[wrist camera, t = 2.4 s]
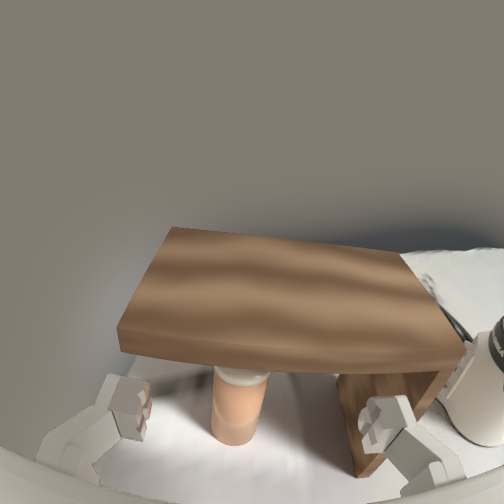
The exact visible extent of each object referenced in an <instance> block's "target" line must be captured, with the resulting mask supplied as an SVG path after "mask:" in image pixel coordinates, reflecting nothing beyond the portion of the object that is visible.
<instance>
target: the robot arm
mask: <svg viewBox="0 0 504 504" xmlns="http://www.w3.org/2000/svg"><path fill="white" fill-rule="evenodd" d="M464 345H465V347H466V348H467V350H466V352H465V354H464V355H463V357H462V358H461V360H460V362H459V363H458V365H457V366H456V368H455V370H454V371H453V373H452V374H451V376H450V377H449V379H448V380H447V382H446V383H445V385H444V386H443V388H442V389H441V391H440V392H439V393H438V395H437V396H436V397H437V399H438V400H439V401H440V402H441V403H442V404H443V405H444V407H445V408H446V410H447V413H448V415H449V417H450V419H451V421H452V423H453V424H454V426H455V427H456V428H457V429H458V431H459V432H460V433H461V434H462V435H464V436H465V437H466V438H467V439H469V440H471V441H472V442H474V443H476V444H479V445H482V446H487V447H494V446H499V445H502V444H504V316H503V317H502V318H501V319H500V321H498V322H497V323H496V325H495V326H494V328H493V330H492V331H484V332H480V333H478V334H477V335H476V337H475V338H474V340H473V342H472V343H470V342H469V341H465V342H464ZM149 389H150V385H149V382H148V381H143V380H138V379H134V378H129V377H125V376H121V375H116V374H111V373H109V374H108V375H107V376H106V378H105V381H104V383H103V385H102V388H101V390H100V392H99V395H98V397H97V400H96V402H95V404H94V406H89V407H87V408H86V409H84V410H82V411H81V412H79V413H78V414H76V415H75V416H73V417H72V418H70V419H68V420H67V421H65V422H64V423H62V424H61V425H59V426H58V427H56V428H54V429H53V430H51V431H50V432H48V433H47V434H45V436H44V439H43V441H42V443H41V445H40V448H39V450H38V452H37V455H36V457H35V459H34V461H32V460H29V459H27V458H25V457H23V456H21V455H19V454H17V453H14V452H12V451H10V450H8V449H6V448H4V447H2V446H0V504H180V503H174V502H168V501H162V500H157V499H152V498H147V497H143V496H138V495H134V494H130V493H126V492H122V491H118V490H114V489H110V488H107V487H103V486H100V485H99V482H100V477H99V476H98V474H97V473H96V471H95V470H94V468H93V466H92V464H93V463H95V462H96V461H97V460H98V459H99V458H100V457H101V456H102V455H104V454H105V453H106V452H107V451H108V450H109V449H110V448H111V447H113V446H114V445H115V444H116V443H117V442H118V441H119V440H120V439H121V438H126V439H131V440H136V441H141V442H143V440H144V436H145V432H146V429H147V427H146V422H145V421H146V420H147V419H149V417H150V413H151V406H152V397H151V394H150V393H149ZM366 405H367V407H365V408H364V409H362V410H361V412H360V414H359V418H358V428H359V431H360V432H361V433H362V434H363V435H364V437H363V439H362V444H363V448H364V452H365V454H370V453H382V452H384V454H385V456H386V457H387V458H388V459H389V460H390V461H391V462H392V463H393V465H394V466H395V467H396V468H397V469H398V470H399V471H400V472H401V473H402V475H403V476H404V477H405V478H406V479H407V480H408V481H409V483H408V484H407V485H405V486H404V487H403V488H402V489H401V490H400V494H401V498H396V499H391V500H386V501H380V502H374V503H368V504H504V465H502V466H500V467H497V468H495V469H492V470H490V471H487V472H485V473H482V474H479V475H477V476H474V477H471V478H468V479H467V478H466V475H465V472H464V470H463V467H462V464H461V462H460V459H459V457H458V455H457V454H456V453H454V452H453V451H452V450H451V449H449V448H448V447H447V446H446V445H444V444H443V443H442V442H441V441H439V440H438V439H437V438H436V437H435V436H433V435H432V434H431V433H430V432H428V431H427V430H426V429H425V428H423V427H422V426H418V424H417V421H416V419H415V416H414V414H413V411H412V409H411V406H410V404H409V401H408V399H407V397H406V396H405V395H398V396H379V397H370V398H369V399H368V400H367V402H366Z"/></svg>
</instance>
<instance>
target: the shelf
mask: <svg viewBox="0 0 504 504" xmlns="http://www.w3.org/2000/svg"><path fill="white" fill-rule="evenodd" d="M117 333H118V338H119V344H120V349H121V352H125V353H130V354H136V355H141V356H147V357H153V358H159V359H165V360H172V361H179V362H186V363H194V364H202V365H210V366H219V367H228V368H238V369H250V370H262V371H277V372H295V373H322V374H340V375H339V377H338V379H337V382H336V384H337V388H338V393H339V397H340V401H341V406H342V410H343V415H344V419H345V424H346V429H347V433H348V438H349V443H350V448H351V453H352V458H353V463H354V468H355V473H356V478H365V477H369V476H370V475H371V474H372V473H373V472H374V471H375V470H376V469H377V468H378V467H379V466H380V465H381V464H382V463H383V462H384V461H385V459H386V458H387V457H386V456H385V454H384V452H382V453H370V454H365V452H364V448H363V444H362V439H363V437H364V435H363V434H362V433H361V432H360V431H359V428H358V418H359V414H360V412H361V410H362V409H364V408H365V407H367V405H366V402H367V400H368V399H369V398H370V397H379V396H398V395H405V396H406V397H407V399H408V401H409V404H410V406H411V409H412V411H413V414H414V416H415V419H416V421H417V422H418V420H419V419H420V418H421V417H422V415H423V414H424V413H425V411H426V410H427V409H428V407H429V406H430V405H431V403H432V402H433V400H434V399H435V398H436V396H437V395H438V393H439V392H440V391H441V389H442V388H443V386H444V385H445V383H446V382H447V380H448V379H449V377H450V376H451V374H452V373H453V371H454V370H455V368H456V366H457V365H458V363H459V362H460V360H461V358H462V357H463V355H464V354H465V352H466V350H467V348H466V347H465V345H464V343H463V342H462V340H461V339H460V337H459V336H458V334H457V333H456V331H455V330H454V328H453V327H452V325H451V324H450V323H449V321H448V320H447V318H446V317H445V315H444V314H443V312H442V311H441V310H440V308H439V307H438V305H437V304H436V303H435V301H434V300H433V298H432V297H431V296H430V294H429V293H428V292H427V290H426V289H425V288H424V286H423V285H422V284H421V282H420V281H419V280H418V278H417V277H416V276H415V274H414V273H413V272H412V270H411V269H410V268H409V266H408V265H407V264H406V263H405V261H404V260H403V259H402V258H401V256H400V255H399V254H398V253H397V252H389V251H381V250H373V249H365V248H357V247H349V246H341V245H332V244H324V243H316V242H307V241H298V240H290V239H281V238H272V237H263V236H254V235H245V234H236V233H227V232H218V231H208V230H198V229H189V228H179V227H172V228H171V229H170V231H169V233H168V234H167V236H166V238H165V240H164V241H163V243H162V245H161V246H160V248H159V250H158V252H157V253H156V255H155V257H154V259H153V261H152V262H151V264H150V266H149V268H148V270H147V271H146V273H145V275H144V277H143V278H142V280H141V282H140V284H139V286H138V288H137V289H136V291H135V293H134V295H133V297H132V299H131V301H130V303H129V304H128V306H127V308H126V310H125V312H124V314H123V316H122V318H121V320H120V322H119V324H118V326H117Z"/></svg>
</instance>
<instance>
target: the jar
mask: <svg viewBox="0 0 504 504" xmlns="http://www.w3.org/2000/svg"><path fill="white" fill-rule="evenodd" d="M270 374H271V371H262V370H250V369H238V368H228V367H219V366H214V384H213V401H212V420H211V430H212V433H213V435H214V436H215V438H216V439H217V440H218V441H220V442H222V443H224V444H226V445H230V446H239V445H243V444H245V443H247V442H249V441H250V440H251V439H252V438H253V436H254V434H255V431H256V427H257V423H258V419H259V415H260V411H261V407H262V403H263V399H264V395H265V391H266V387H267V382H268V378H269V376H270Z"/></svg>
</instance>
